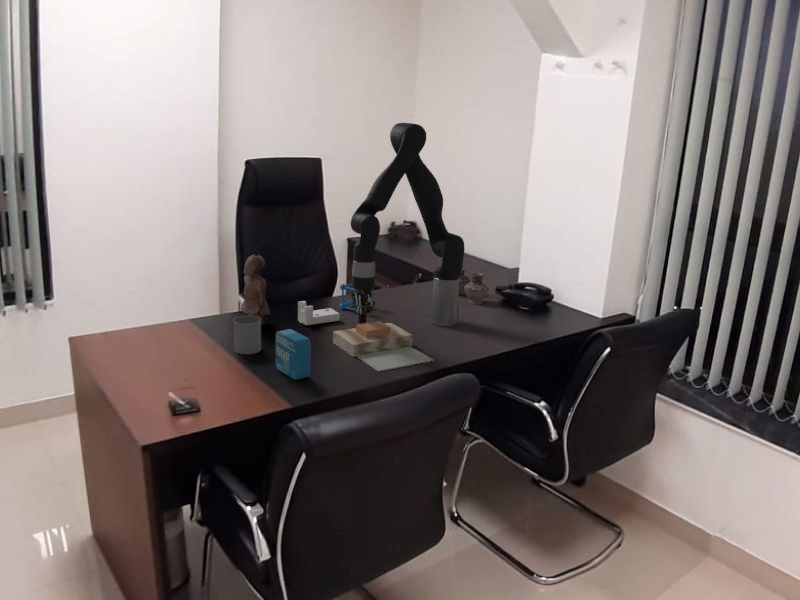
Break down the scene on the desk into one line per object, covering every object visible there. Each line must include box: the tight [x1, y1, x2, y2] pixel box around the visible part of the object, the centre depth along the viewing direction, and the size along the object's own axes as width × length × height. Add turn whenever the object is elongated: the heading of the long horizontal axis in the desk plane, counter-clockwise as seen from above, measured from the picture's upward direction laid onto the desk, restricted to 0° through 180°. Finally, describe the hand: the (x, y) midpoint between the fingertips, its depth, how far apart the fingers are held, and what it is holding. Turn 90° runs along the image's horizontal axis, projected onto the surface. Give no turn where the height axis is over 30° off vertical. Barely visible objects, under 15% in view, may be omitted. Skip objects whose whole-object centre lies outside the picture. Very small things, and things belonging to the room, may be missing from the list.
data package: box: [275, 328, 312, 381], centre depth 198 cm, size 12×4×12 cm, turn 41°
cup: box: [232, 314, 262, 355], centre depth 215 cm, size 8×8×10 cm
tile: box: [355, 320, 391, 338], centre depth 224 cm, size 9×7×2 cm
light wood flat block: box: [332, 322, 414, 357], centre depth 225 cm, size 22×14×4 cm, turn 122°
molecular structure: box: [339, 282, 375, 315], centre depth 262 cm, size 10×10×10 cm
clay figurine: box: [240, 254, 271, 326], centre depth 237 cm, size 13×10×25 cm
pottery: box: [458, 267, 489, 305], centre depth 283 cm, size 11×25×12 cm, turn 29°
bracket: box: [297, 300, 341, 326], centre depth 245 cm, size 13×7×8 cm, turn 122°
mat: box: [356, 346, 435, 373], centre depth 214 cm, size 20×14×1 cm
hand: (362, 323), depth 230 cm, fingers closed
